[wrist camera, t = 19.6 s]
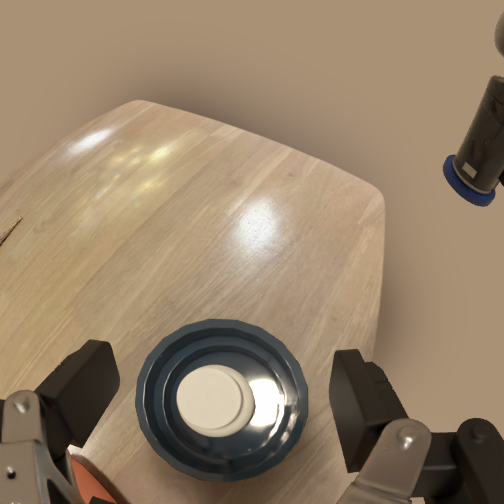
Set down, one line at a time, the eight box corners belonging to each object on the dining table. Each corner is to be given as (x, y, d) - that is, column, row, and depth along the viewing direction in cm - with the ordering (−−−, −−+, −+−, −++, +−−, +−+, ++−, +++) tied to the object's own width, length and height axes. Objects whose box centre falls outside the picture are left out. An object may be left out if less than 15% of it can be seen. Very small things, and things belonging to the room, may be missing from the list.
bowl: (297, 336, 28) (305, 319, 23) (298, 470, 21) (307, 482, 16) (163, 333, 29) (145, 315, 24) (154, 460, 21) (131, 468, 17)
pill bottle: (188, 420, 23) (152, 420, 15) (208, 369, 26) (182, 344, 18) (245, 439, 22) (237, 452, 14) (263, 387, 25) (265, 372, 17)
